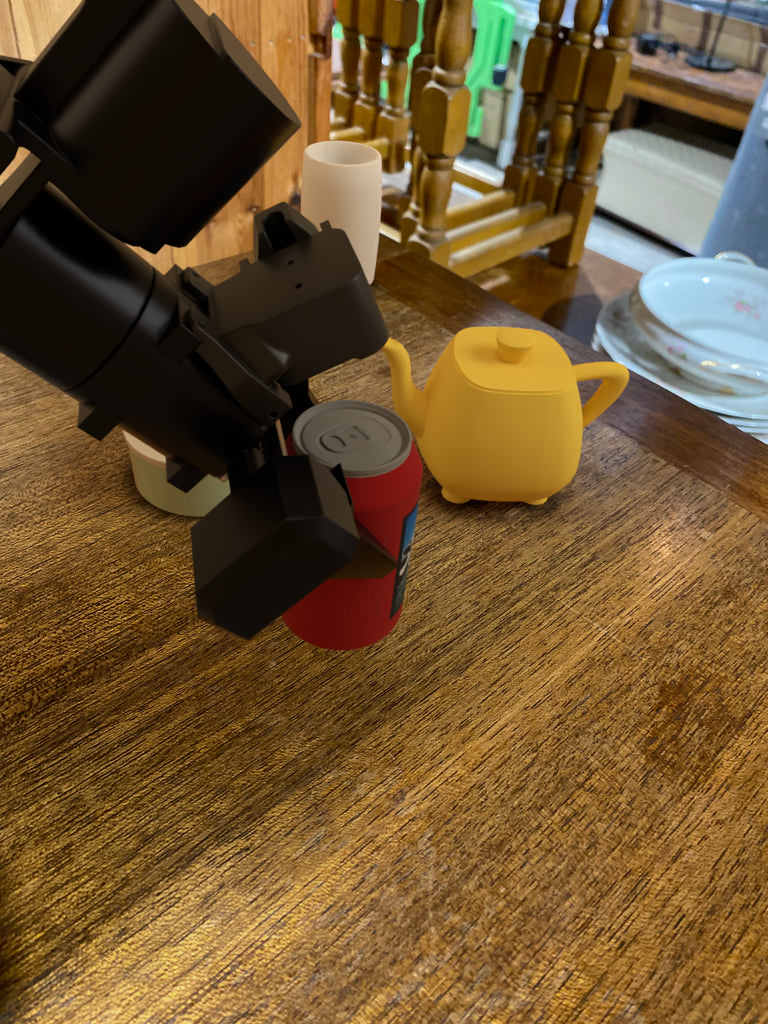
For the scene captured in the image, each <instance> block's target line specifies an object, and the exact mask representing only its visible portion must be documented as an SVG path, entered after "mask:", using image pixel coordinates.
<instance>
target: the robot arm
mask: <svg viewBox="0 0 768 1024" xmlns="http://www.w3.org/2000/svg"><path fill="white" fill-rule="evenodd" d="M302 125H303V124H302V121H301V120H300V117H299V116H298V114H297V113H296V111H295V110H294V109H293V107H292V105H291V104H290V103H289V101H288V100H287V98H286V97H285V96H284V94H283V92H282V91H281V90H280V89H279V87H277V85H276V83H274V81H273V80H272V79H271V77H270V76H269V75H268V73H267V72H266V71H265V70H264V68H263V67H262V66H261V65H260V64H259V62H258V61H257V60H256V59H255V57H254V56H253V55H252V54H251V53H250V52H249V50H248V49H247V48H246V46H245V45H244V44H243V43H242V42H241V41H240V40H239V39H238V37H237V36H236V35H235V34H234V33H233V31H232V30H231V29H230V28H229V27H228V26H227V25H226V23H224V21H223V20H222V19H221V18H220V16H219V15H217V14H216V13H215V12H214V11H213V12H212V13H211V14H210V15H209V14H208V13H207V12H206V11H205V10H204V9H203V8H202V7H201V5H199V4H198V3H197V1H196V0H81V1H80V3H79V4H78V5H77V6H76V8H75V9H74V10H73V11H72V13H71V14H70V15H69V16H68V18H67V19H66V21H65V22H64V23H63V24H62V26H60V28H59V29H58V30H57V31H56V33H55V34H54V35H53V36H52V38H50V40H49V42H48V43H47V44H46V46H45V47H44V48H43V50H42V51H40V53H39V54H38V56H37V57H36V58H35V59H34V60H29V59H24V58H18V57H13V56H7V55H2V54H0V177H1V176H2V175H3V174H4V172H5V171H6V170H7V168H8V167H9V166H10V165H11V164H12V162H13V161H14V160H15V159H16V156H17V154H18V151H19V148H23V149H25V150H27V151H28V152H29V153H28V154H27V156H26V157H25V158H24V159H23V160H22V161H21V163H20V164H19V165H18V166H17V167H16V169H15V170H14V171H13V172H12V173H11V174H10V175H9V176H8V177H7V178H6V179H5V180H4V181H3V182H2V183H1V184H0V353H1V354H2V355H5V356H6V357H7V358H8V359H10V360H12V361H13V362H15V363H16V364H18V365H20V366H22V367H23V368H25V369H26V370H27V371H29V372H31V373H33V374H34V375H35V376H37V377H39V378H40V379H42V380H44V381H45V382H47V383H48V384H50V385H51V386H53V387H55V388H56V389H58V390H59V391H60V392H62V393H63V394H65V395H67V396H69V397H70V398H72V399H73V400H75V401H76V402H77V403H78V411H77V412H78V413H77V423H76V428H77V429H78V430H81V431H82V432H84V433H85V434H86V435H89V436H90V437H91V438H94V439H95V440H97V441H99V442H102V441H103V440H104V439H105V438H106V437H107V436H108V435H109V434H110V433H111V432H112V431H114V429H115V428H116V427H117V428H119V429H120V430H122V431H123V430H124V431H125V432H127V433H129V434H130V435H132V436H133V437H135V438H137V439H138V440H140V441H141V442H143V443H144V444H146V445H148V446H149V447H151V448H152V449H154V450H155V451H157V452H159V453H160V454H162V455H163V456H165V457H166V477H167V482H168V483H169V484H171V485H173V486H174V487H176V488H178V489H179V490H181V491H182V492H184V493H186V494H187V493H188V492H189V491H190V490H191V489H192V488H194V487H195V486H196V485H197V484H198V483H199V482H200V481H201V480H202V479H204V478H205V477H206V476H207V475H208V474H209V475H211V476H212V477H214V478H215V477H217V478H218V479H219V480H220V481H222V482H226V481H228V480H229V485H230V494H229V495H228V496H227V497H225V498H224V499H223V500H222V501H221V502H220V503H219V504H217V505H216V506H215V507H214V508H213V509H212V510H211V511H209V512H208V513H207V514H206V515H205V516H204V517H202V518H201V517H200V519H199V520H198V521H197V522H196V523H194V524H193V525H192V526H191V527H190V529H189V531H190V532H189V533H190V544H191V557H192V571H193V583H194V596H195V604H196V613H197V620H200V621H202V622H204V623H205V624H208V625H210V626H212V627H214V628H216V629H218V630H220V631H223V632H224V633H227V634H229V635H231V636H233V637H235V638H237V639H241V640H244V641H247V642H249V641H251V640H252V639H253V638H255V637H256V636H257V635H258V634H260V633H261V632H262V631H263V630H265V629H266V628H267V627H268V626H270V625H271V624H272V623H274V622H275V621H276V620H278V619H279V618H280V617H281V615H283V614H284V613H285V612H286V611H288V610H289V609H290V608H291V607H293V606H294V605H295V604H297V603H298V602H299V601H300V600H302V599H303V598H304V597H306V596H307V595H308V594H309V593H311V592H312V591H313V590H315V589H316V588H317V587H318V586H320V585H321V584H322V583H323V582H325V581H326V580H327V579H379V578H383V577H385V576H386V575H388V574H389V573H390V572H392V571H393V570H394V569H395V568H396V567H397V562H396V559H395V558H394V557H393V556H392V554H391V553H390V552H389V551H388V550H387V549H386V548H385V547H384V546H383V545H382V543H381V542H380V541H379V540H378V539H377V538H376V537H375V536H373V535H372V534H371V533H370V532H369V531H368V530H367V529H366V528H365V527H364V526H363V525H362V524H361V523H360V522H359V521H358V520H357V519H356V518H355V517H354V504H353V500H352V497H351V494H350V490H349V487H348V484H347V481H346V478H345V474H344V471H343V468H342V465H341V463H338V464H337V465H336V466H335V467H334V468H332V469H331V470H330V471H329V470H328V468H326V467H325V466H324V465H322V464H321V463H320V462H318V461H317V460H315V459H314V458H313V457H311V456H310V455H309V454H301V455H288V454H287V450H286V445H285V440H286V439H287V438H288V436H289V435H290V433H291V432H292V431H293V426H294V423H295V421H296V420H297V418H298V417H299V416H300V415H301V414H302V413H303V412H305V411H306V410H308V409H309V408H311V407H313V406H315V405H318V404H321V403H320V401H319V400H318V399H317V397H316V395H315V394H314V393H313V391H312V390H311V388H310V379H312V378H313V377H316V376H318V375H321V374H322V373H325V372H328V371H329V370H331V369H333V368H336V367H338V366H340V365H342V364H344V363H346V362H349V361H352V360H354V359H355V360H356V359H357V360H364V359H367V358H369V357H371V356H373V355H375V354H376V353H378V352H379V351H381V348H382V347H384V345H385V344H386V343H387V341H388V338H390V332H389V329H388V327H387V324H386V322H385V319H384V317H383V315H382V312H381V310H380V307H379V304H378V302H377V300H376V297H375V296H374V293H373V291H372V288H371V284H370V285H369V283H368V280H367V278H366V276H365V273H364V271H363V268H362V266H361V263H360V261H359V259H358V257H357V255H356V253H355V251H354V249H353V247H352V245H351V243H350V241H349V238H348V236H347V234H346V232H345V231H344V230H342V229H339V228H332V227H331V224H330V222H329V220H326V221H324V222H322V223H320V227H321V229H322V231H320V232H319V231H318V229H317V228H316V226H315V225H314V224H313V223H312V222H310V221H309V220H308V219H307V218H305V217H304V216H303V215H302V214H301V212H299V211H298V210H297V209H295V208H294V207H293V206H292V205H291V204H289V203H288V202H287V201H281V202H278V203H276V204H274V205H272V206H270V207H267V208H266V209H263V210H262V211H259V212H257V213H255V214H254V215H253V227H252V228H253V230H252V231H253V232H252V234H253V237H252V238H253V239H252V240H253V241H252V242H253V243H252V245H253V246H252V247H253V248H252V252H253V258H254V262H252V263H250V261H249V259H248V257H245V258H243V259H241V260H239V261H238V267H239V272H237V273H236V274H234V275H232V276H230V277H229V278H226V279H225V280H223V281H221V282H219V283H217V284H215V285H214V284H213V283H211V281H208V280H207V279H206V278H205V277H204V276H202V275H201V274H200V273H199V272H197V271H196V270H195V269H194V268H192V267H191V266H186V267H185V268H184V269H183V268H182V267H180V266H179V265H178V264H177V263H174V264H173V265H172V266H171V267H170V268H169V269H168V270H167V272H165V274H163V273H162V272H161V271H160V270H159V269H157V268H156V267H155V266H153V265H152V264H151V263H150V262H149V261H147V260H146V259H145V258H144V257H142V256H141V255H140V254H139V253H137V252H136V251H135V250H134V249H133V248H131V247H134V248H135V247H136V248H141V249H142V250H144V251H145V252H147V253H150V254H151V255H155V256H156V255H157V254H158V253H159V252H160V251H161V250H162V249H163V248H164V246H168V247H173V248H177V249H182V248H186V247H187V246H188V245H189V244H190V243H191V242H192V241H193V240H194V239H195V238H196V237H197V236H198V235H199V234H200V233H201V231H203V230H204V229H205V227H206V226H208V225H209V223H210V222H211V221H212V220H213V219H214V218H215V217H216V216H218V214H219V213H220V212H221V211H222V210H223V209H224V208H225V206H227V204H229V203H230V202H231V200H233V198H234V197H236V195H238V193H239V192H240V191H241V190H242V189H243V188H244V187H245V186H246V185H247V184H248V183H249V182H250V181H251V180H252V179H253V178H254V177H255V176H256V174H257V173H258V172H259V171H261V170H262V168H263V167H265V165H266V164H267V163H268V162H269V161H270V160H271V159H272V158H273V157H274V156H275V155H276V154H277V153H278V152H279V151H280V150H281V149H282V147H284V145H285V144H286V143H288V141H290V140H291V138H292V137H293V136H294V135H295V134H296V133H297V132H298V131H299V130H301V128H302Z"/></svg>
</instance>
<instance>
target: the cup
mask: <svg viewBox="0 0 768 1024" xmlns="http://www.w3.org/2000/svg"><path fill="white" fill-rule="evenodd" d="M302 159H303V160H302V162H303V163H302V170H301V187H300V188H301V189H300V214H302V215H303V216H304V217H305V218H307V219H308V220H309V221H310V222H312V223H313V224H314V225H315V226H316V228H317V229H318V231H319V232H320V231H322V229H321V227H320V223H322V222H324V221H326V220H329V222H330V224H331V227H332V228H339V229H342V230H344V231H345V232H346V234H347V236H348V238H349V241H350V243H351V245H352V247H353V249H354V251H355V253H356V255H357V257H358V259H359V261H360V263H361V266H362V268H363V271H364V273H365V276H366V278H367V280H368V283H369V285H370V286H371V284H372V283H373V282H374V280H375V274H376V273H375V272H376V266H377V257H378V250H379V249H378V248H379V240H380V229H381V218H382V217H381V215H382V197H383V162H382V161H383V160H382V154H381V153H380V152H379V150H377V149H376V148H374V147H373V146H370V145H367V144H364V143H360V142H356V141H355V142H354V141H348V140H325V141H319V142H315V143H311V144H309V145H307V147H305V149H304V150H303V158H302Z"/></svg>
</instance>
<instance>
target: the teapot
mask: <svg viewBox="0 0 768 1024" xmlns="http://www.w3.org/2000/svg"><path fill="white" fill-rule="evenodd" d="M380 351H382V352H383V354H384V356H385V358H386V359H387V361H388V364H389V368H390V375H391V376H390V377H391V399H392V405H393V408H394V413H396V414H397V415H399V416H400V417H401V418H402V419H403V420H404V421H405V422H406V424H407V425H408V427H409V429H410V431H411V433H413V434H414V435H415V439H416V443H417V447H418V450H419V452H420V453H419V454H421V455H420V456H421V458H422V459H423V460H424V463H425V464H426V466H427V468H428V469H429V472H430V473H431V475H432V476H433V477H434V478H435V480H436V481H437V483H438V484H439V485H440V486H441V487H442V488H441V495H442V497H443V498H444V499H445V500H446V501H448V502H451V503H454V504H465V503H467V502H470V501H471V500H476V501H477V500H478V501H487V502H522V503H525V504H528V505H531V506H539V505H543V504H544V503H546V502H547V501H548V498H550V497H551V496H553V495H555V494H556V493H558V492H559V491H562V489H563V488H564V487H566V486H567V485H568V484H570V483H571V481H572V479H573V478H574V477H575V475H576V474H577V470H578V467H579V463H580V460H581V453H582V446H583V434H584V433H583V431H584V429H585V428H586V427H587V426H589V425H590V424H591V423H592V422H594V421H595V420H596V419H597V418H598V417H600V416H601V415H602V414H603V413H604V412H605V411H606V410H608V408H610V406H611V405H613V404H614V403H615V402H616V401H617V399H618V398H620V396H621V394H622V393H623V392H624V390H625V389H626V387H627V385H628V383H629V380H630V371H629V370H628V368H627V366H626V365H624V364H623V363H620V362H617V361H594V362H586V363H578V364H573V365H572V361H571V360H570V358H569V355H568V354H567V353H566V351H565V350H564V348H563V347H562V346H561V344H559V342H558V341H557V340H555V338H553V337H552V336H551V335H549V334H547V333H546V332H544V331H541V330H537V329H530V328H523V327H514V326H513V327H511V326H510V327H509V326H471V327H466V328H463V329H461V330H460V331H458V332H457V333H456V334H455V335H454V336H453V337H452V338H451V340H450V341H449V342H448V344H447V345H446V346H445V348H444V350H443V351H442V353H441V354H440V356H439V358H438V359H437V361H436V363H435V364H434V366H433V368H432V370H431V371H430V373H429V375H428V377H427V380H426V382H425V385H424V387H423V390H421V389H420V388H418V387H417V386H416V385H415V383H414V382H413V378H412V366H411V359H410V356H409V353H408V351H407V349H406V348H405V347H404V346H403V344H402V343H401V342H399V341H397V340H396V339H394V338H391V337H389V338H388V341H387V343H386V344H385V345H384V347H382V348H381V349H380ZM592 380H602V381H601V383H600V385H599V387H598V388H597V390H596V391H595V392H594V394H593V395H592V396H591V397H590V398H589V399H588V401H586V403H585V404H584V405H583V406H582V402H581V396H580V390H579V386H578V383H579V382H583V381H592Z"/></svg>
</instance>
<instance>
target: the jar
mask: <svg viewBox="0 0 768 1024" xmlns="http://www.w3.org/2000/svg"><path fill="white" fill-rule="evenodd" d="M122 435H123V439H124V442H125V443H126V446H127V447H128V452H129V458H130V464H131V468H132V473H133V474H132V475H133V480H134V484H135V487H136V489H137V491H138V492H139V494H140V495H141V496H142V497H143V498H144V499H145V500H146V501H147V502H148V503H150V504H151V505H152V506H154V507H156V508H158V509H160V510H163V511H165V512H168V513H171V514H175V515H178V516H183V517H184V516H185V517H196V518H201V517H202V518H203V517H204V516H205V515H206V514H207V513H208V512H209V511H211V510H212V509H213V508H214V507H215V506H216V505H217V504H219V503H220V502H221V501H222V500H223V499H224V498H225V497H227V496H228V495H229V494H230V485H229V480H228V481H226V482H222V481H220V480H219V479H218V478H217V477H215V478H214V477H212V476H211V475H209V474H208V475H207V476H206V477H205V478H204V479H202V480H201V481H200V482H199V483H198V484H197V485H196V486H195V487H194V488H192V489H191V490H190V491H189V492H188V493H187V494H186V493H184V492H182V491H181V490H179V489H178V488H176V487H174V486H173V485H171V484H169V483H168V482H167V477H166V457H165V456H163V455H162V454H160V453H159V452H157V451H155V450H154V449H152V448H151V447H149V446H148V445H146V444H144V443H143V442H141V441H140V440H138V439H137V438H135V437H133V436H132V435H130V434H129V433H127V432H125V431H124V430H122Z"/></svg>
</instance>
